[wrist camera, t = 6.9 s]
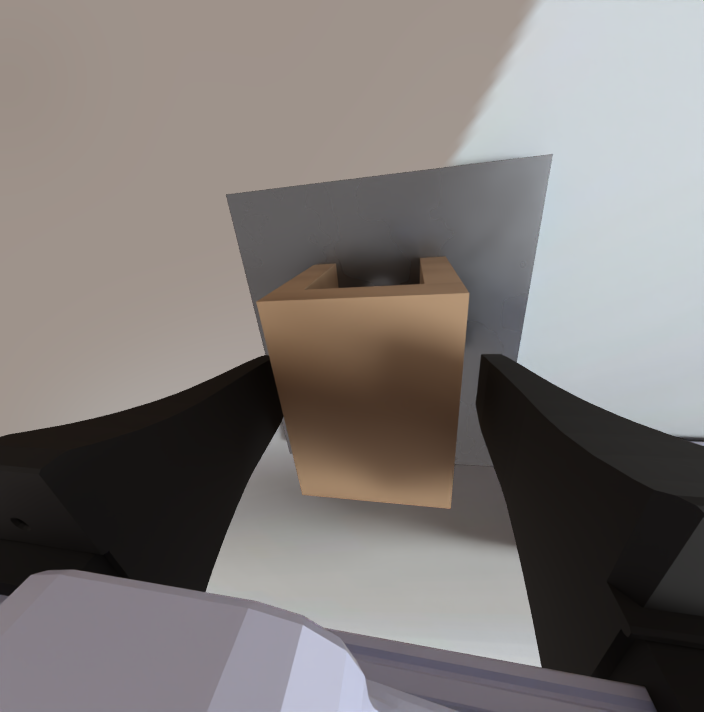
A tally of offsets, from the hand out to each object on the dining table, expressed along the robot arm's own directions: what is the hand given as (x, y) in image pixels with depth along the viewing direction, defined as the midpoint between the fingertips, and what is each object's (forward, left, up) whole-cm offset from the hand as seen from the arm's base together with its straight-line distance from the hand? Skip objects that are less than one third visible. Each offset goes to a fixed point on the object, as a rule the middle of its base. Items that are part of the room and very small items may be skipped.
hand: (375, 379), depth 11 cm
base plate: (0, 0, -3) cm, 3 cm away
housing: (0, 0, -2) cm, 2 cm away
